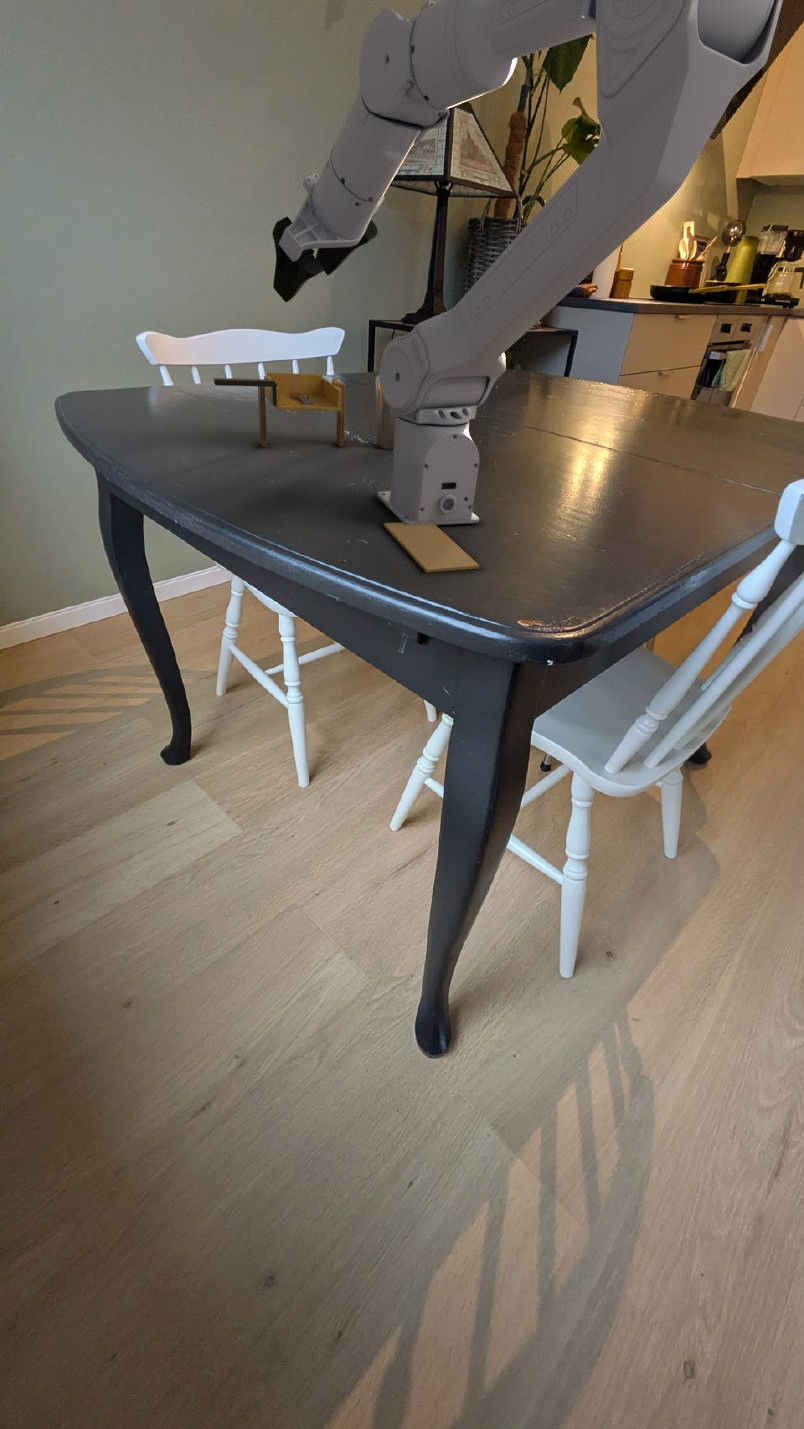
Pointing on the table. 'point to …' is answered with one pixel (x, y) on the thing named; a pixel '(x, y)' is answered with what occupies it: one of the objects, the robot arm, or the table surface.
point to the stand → (263, 416)
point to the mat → (431, 547)
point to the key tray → (294, 390)
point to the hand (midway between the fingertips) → (302, 280)
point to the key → (302, 398)
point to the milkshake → (384, 420)
